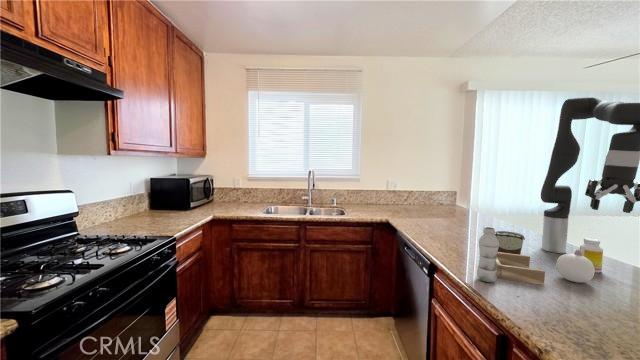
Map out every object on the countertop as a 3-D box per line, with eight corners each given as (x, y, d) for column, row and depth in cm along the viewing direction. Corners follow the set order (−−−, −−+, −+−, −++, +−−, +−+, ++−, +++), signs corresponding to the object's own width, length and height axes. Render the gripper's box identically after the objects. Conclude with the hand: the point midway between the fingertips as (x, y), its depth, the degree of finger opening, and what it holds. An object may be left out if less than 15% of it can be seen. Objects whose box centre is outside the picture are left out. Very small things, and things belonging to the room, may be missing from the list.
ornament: (592, 280, 98) (594, 249, 98) (594, 290, 91) (597, 256, 90) (555, 272, 105) (557, 243, 105) (555, 281, 98) (557, 250, 97)
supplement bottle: (606, 273, 104) (608, 242, 103) (586, 272, 106) (589, 241, 105) (592, 267, 111) (594, 237, 110) (574, 266, 112) (576, 236, 111)
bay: (489, 262, 116) (489, 251, 116) (528, 267, 111) (529, 255, 110) (497, 277, 101) (498, 265, 100) (544, 285, 95) (544, 271, 94)
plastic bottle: (472, 277, 101) (474, 226, 100) (488, 276, 102) (491, 226, 100) (484, 284, 95) (486, 230, 93) (501, 284, 95) (504, 230, 94)
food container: (522, 253, 128) (523, 233, 127) (524, 256, 123) (525, 236, 122) (492, 248, 135) (493, 229, 134) (492, 252, 130) (493, 232, 129)
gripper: (639, 164, 89) (628, 210, 92) (587, 161, 93) (577, 205, 96) (659, 167, 82) (646, 216, 85) (601, 164, 86) (591, 211, 89)
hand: (610, 210), depth 90 cm, fingers open, 8 cm apart
